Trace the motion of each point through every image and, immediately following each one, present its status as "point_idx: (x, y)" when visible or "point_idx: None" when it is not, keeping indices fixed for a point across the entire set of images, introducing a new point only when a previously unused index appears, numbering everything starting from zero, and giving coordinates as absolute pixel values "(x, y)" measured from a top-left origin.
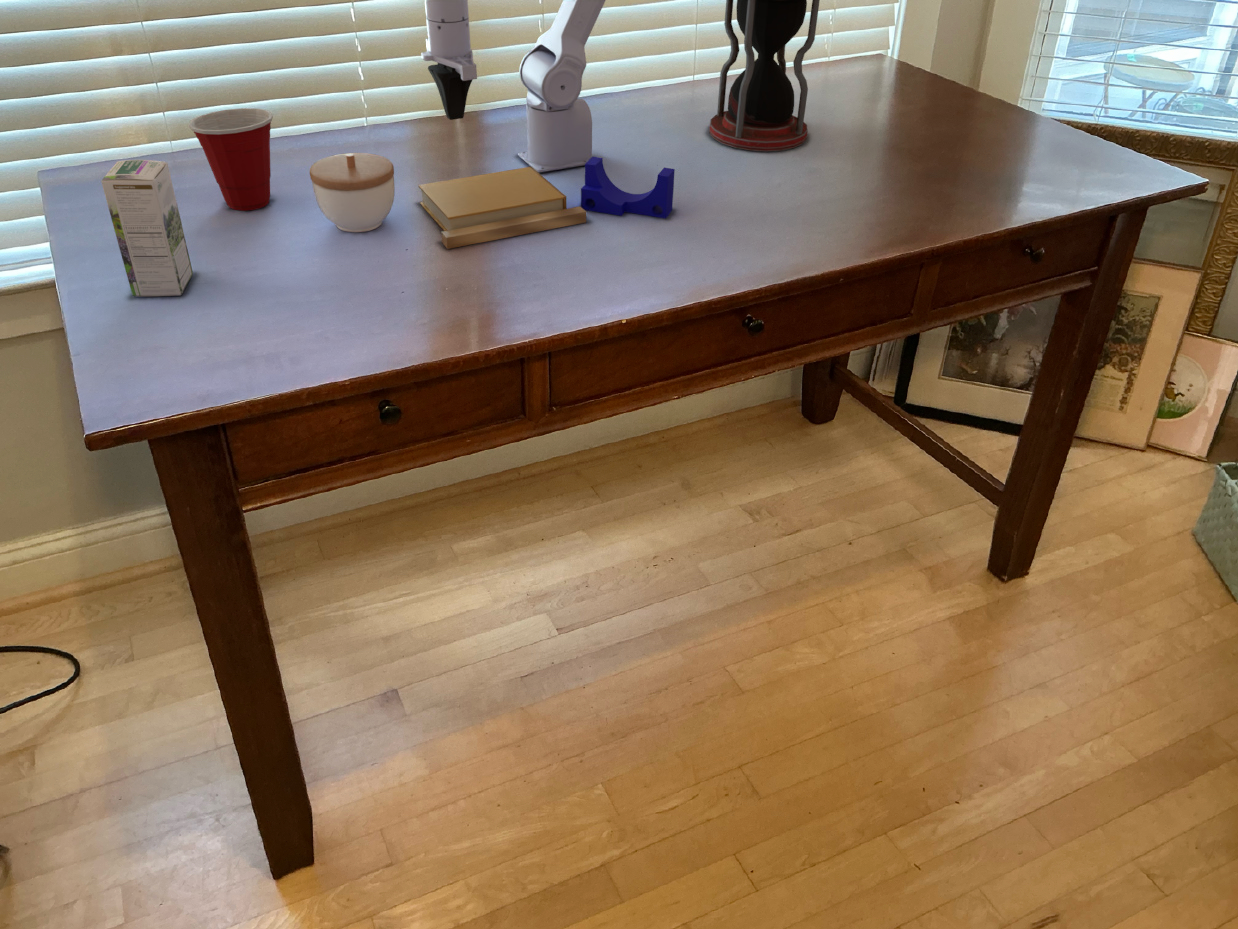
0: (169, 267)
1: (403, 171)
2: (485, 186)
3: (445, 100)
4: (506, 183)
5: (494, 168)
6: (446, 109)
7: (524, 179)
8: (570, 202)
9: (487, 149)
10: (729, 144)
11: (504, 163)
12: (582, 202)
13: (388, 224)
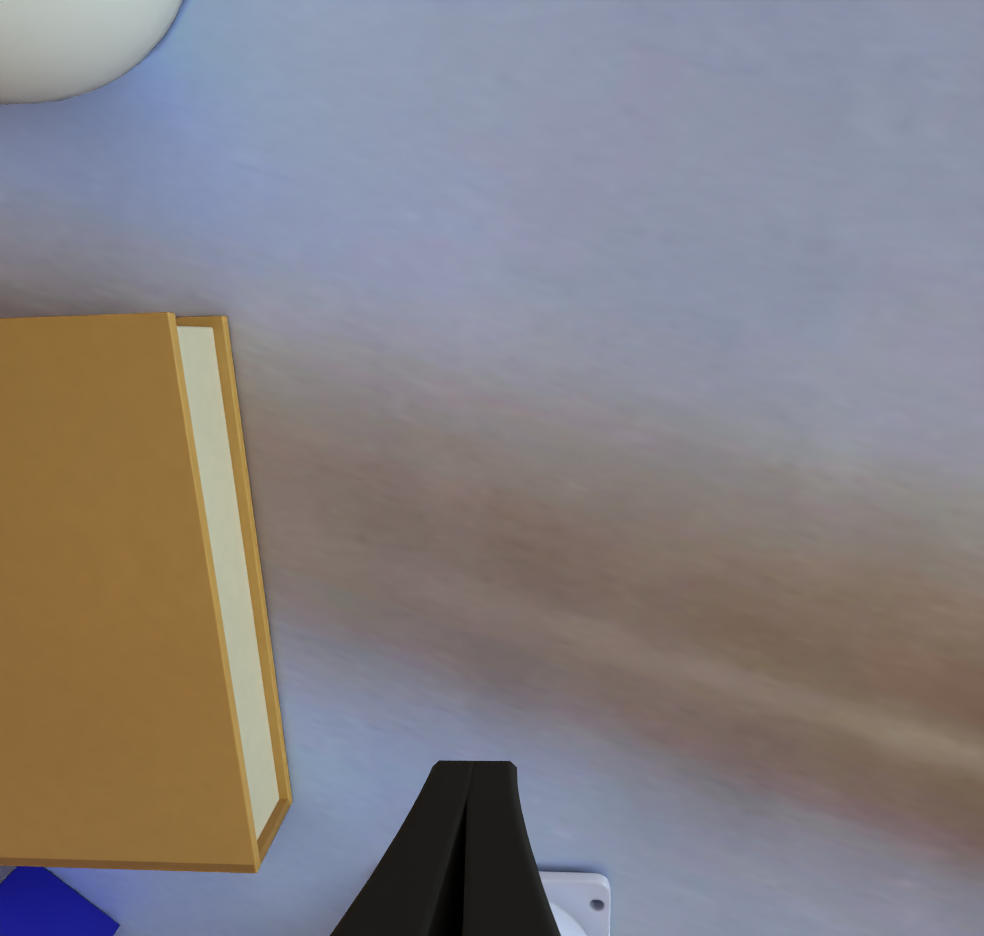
0: None
1: (661, 360)
2: (69, 619)
3: (368, 903)
4: (87, 713)
5: (518, 743)
6: (432, 815)
7: (115, 794)
8: None
9: (747, 796)
10: None
11: (555, 797)
12: (2, 883)
13: None
